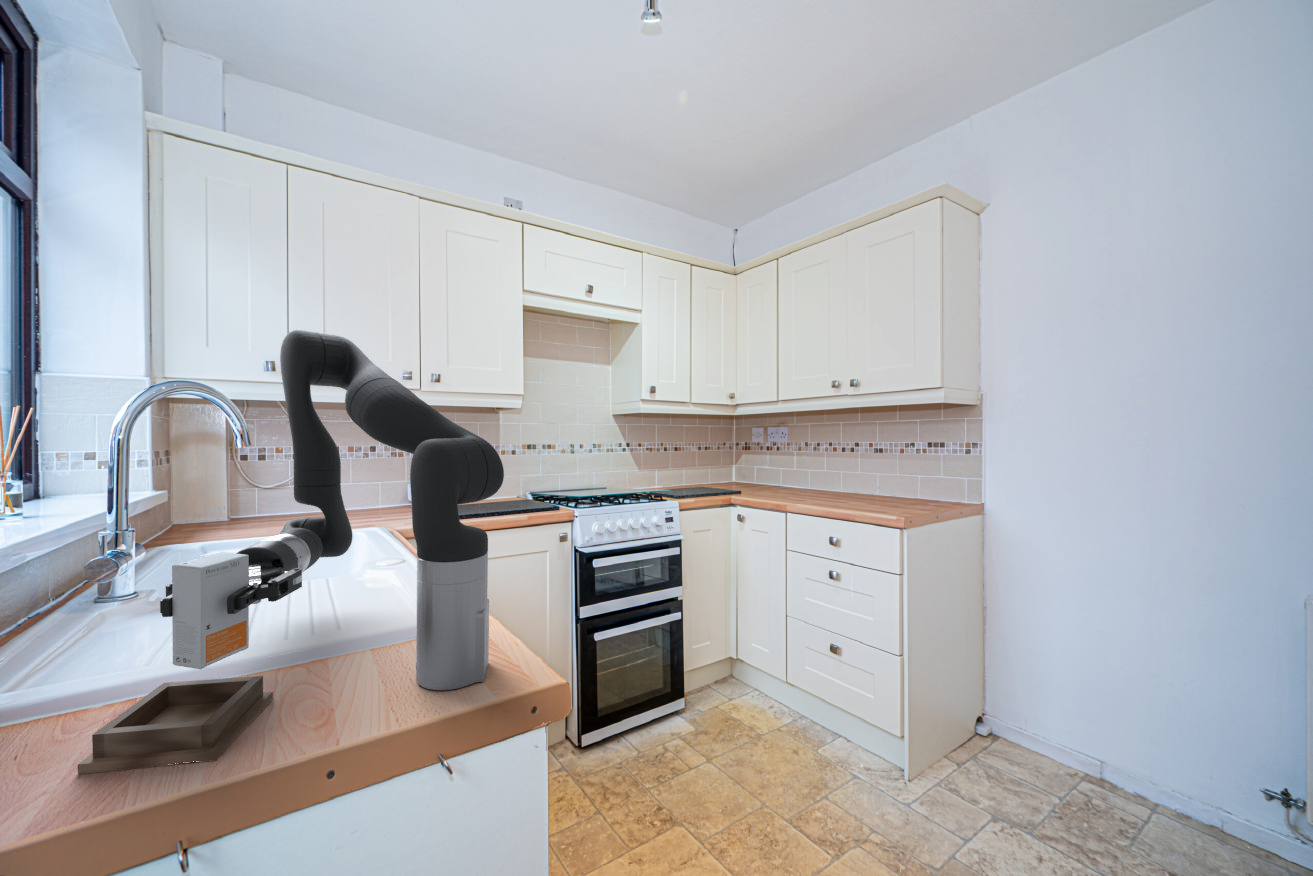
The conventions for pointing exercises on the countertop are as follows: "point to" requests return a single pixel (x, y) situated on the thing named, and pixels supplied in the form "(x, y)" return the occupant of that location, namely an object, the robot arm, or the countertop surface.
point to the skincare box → (208, 609)
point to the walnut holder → (178, 724)
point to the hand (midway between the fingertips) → (198, 607)
